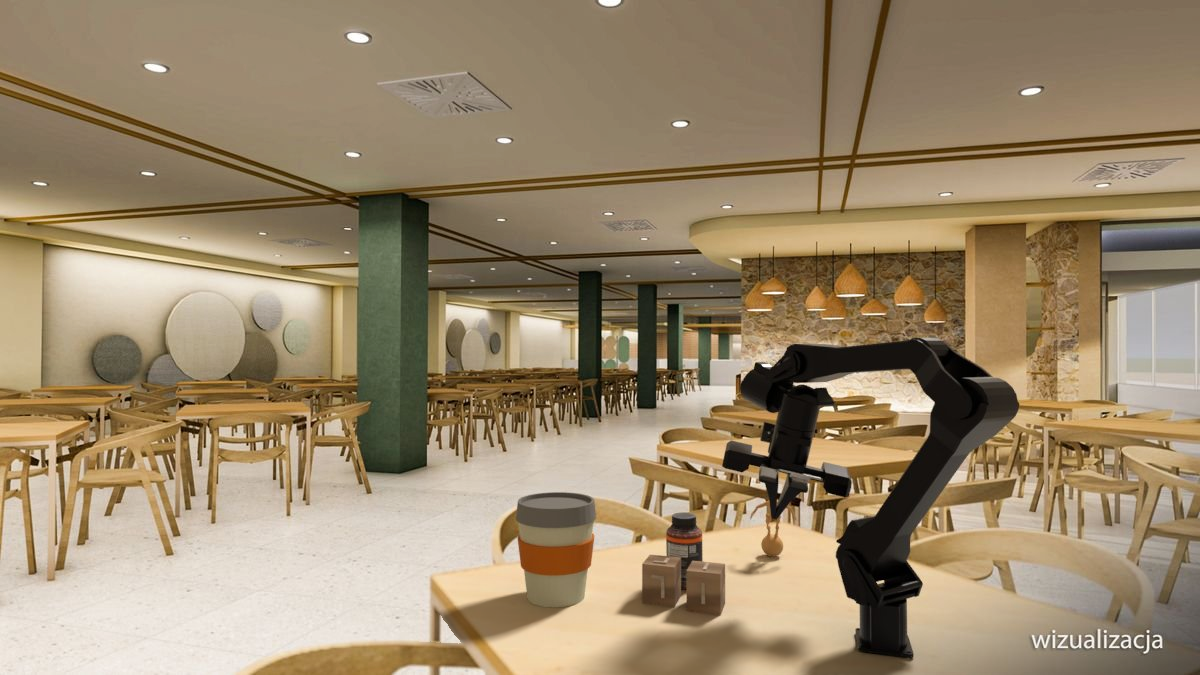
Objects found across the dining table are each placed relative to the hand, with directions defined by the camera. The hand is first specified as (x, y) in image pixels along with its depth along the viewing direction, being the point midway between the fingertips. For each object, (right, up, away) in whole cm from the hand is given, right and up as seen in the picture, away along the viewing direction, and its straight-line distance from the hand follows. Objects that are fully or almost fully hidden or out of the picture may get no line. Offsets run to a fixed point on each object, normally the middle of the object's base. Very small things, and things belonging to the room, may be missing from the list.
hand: (773, 518), depth 104 cm
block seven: (-18, -12, -1) cm, 21 cm away
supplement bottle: (-13, -13, +6) cm, 19 cm away
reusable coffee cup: (-34, -13, 0) cm, 36 cm away
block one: (-11, -12, -4) cm, 17 cm away
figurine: (+5, -13, +20) cm, 25 cm away
